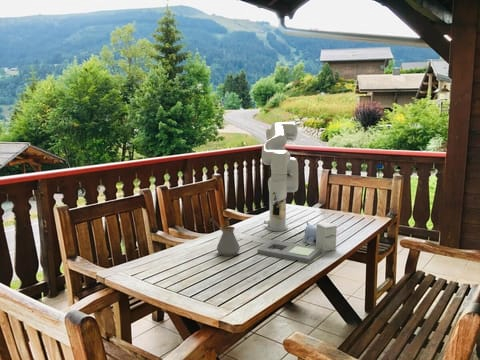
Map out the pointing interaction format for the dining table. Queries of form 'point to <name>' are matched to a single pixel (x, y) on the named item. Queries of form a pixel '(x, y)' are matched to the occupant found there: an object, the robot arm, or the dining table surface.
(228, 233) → the coffee pot
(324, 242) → the supplement box
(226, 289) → the dining table surface
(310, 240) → the hippopotamus toy
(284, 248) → the puzzle board
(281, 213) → the maple block
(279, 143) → the robot arm
